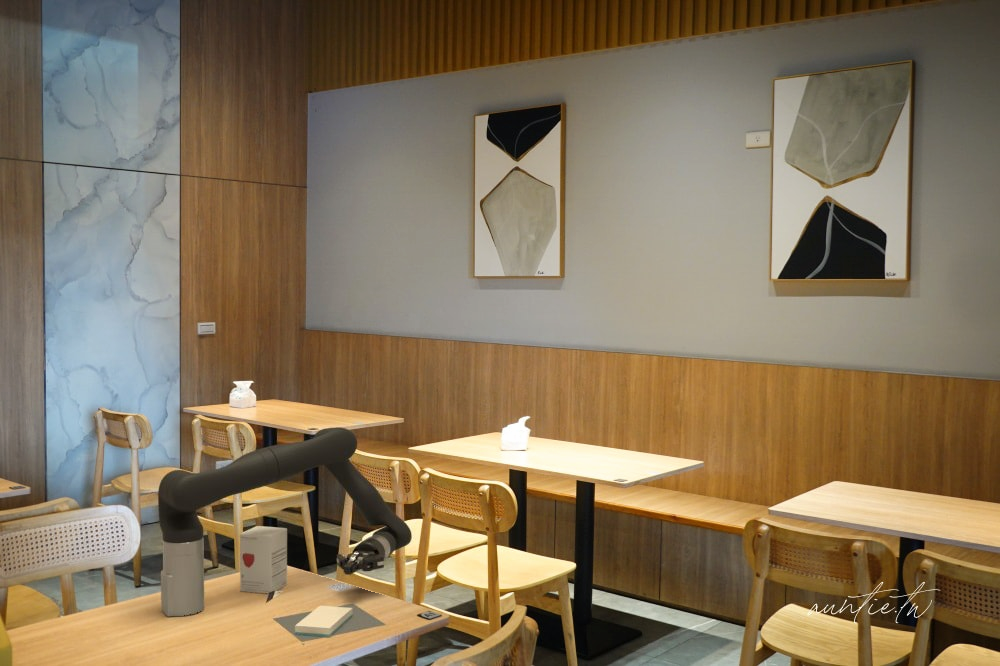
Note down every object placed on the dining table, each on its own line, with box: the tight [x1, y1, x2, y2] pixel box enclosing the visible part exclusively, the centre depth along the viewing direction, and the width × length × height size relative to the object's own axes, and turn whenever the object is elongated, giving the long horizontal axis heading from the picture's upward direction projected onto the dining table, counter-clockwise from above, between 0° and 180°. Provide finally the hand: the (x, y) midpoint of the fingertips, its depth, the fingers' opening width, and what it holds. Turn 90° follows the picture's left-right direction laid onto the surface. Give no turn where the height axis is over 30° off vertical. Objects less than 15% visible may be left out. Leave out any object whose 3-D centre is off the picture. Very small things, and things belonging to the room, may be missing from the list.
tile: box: [295, 605, 352, 638], centre depth 217 cm, size 2×8×14 cm
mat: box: [272, 603, 387, 643], centre depth 220 cm, size 20×18×1 cm
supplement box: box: [239, 525, 288, 595], centre depth 247 cm, size 9×9×15 cm
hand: (347, 570), depth 232 cm, fingers closed
